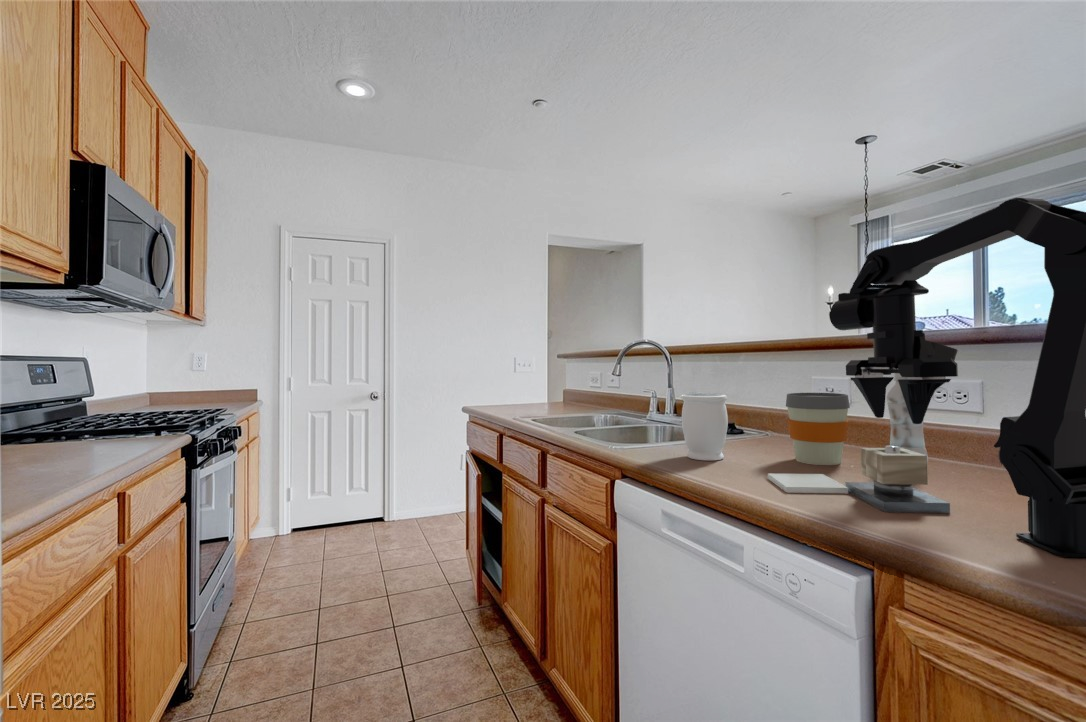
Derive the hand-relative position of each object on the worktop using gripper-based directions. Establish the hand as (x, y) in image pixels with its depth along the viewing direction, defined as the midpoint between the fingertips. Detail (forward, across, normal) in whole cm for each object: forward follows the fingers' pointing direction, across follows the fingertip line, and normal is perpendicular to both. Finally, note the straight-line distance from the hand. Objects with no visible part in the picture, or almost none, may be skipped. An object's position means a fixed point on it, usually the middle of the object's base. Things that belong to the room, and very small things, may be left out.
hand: (897, 420), depth 79 cm
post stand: (+13, -1, +2) cm, 13 cm away
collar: (+9, -1, +2) cm, 10 cm away
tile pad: (+13, +9, +11) cm, 19 cm away
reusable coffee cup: (+13, +30, -2) cm, 33 cm away
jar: (+12, +35, +22) cm, 43 cm away
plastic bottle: (+13, +21, -15) cm, 29 cm away
